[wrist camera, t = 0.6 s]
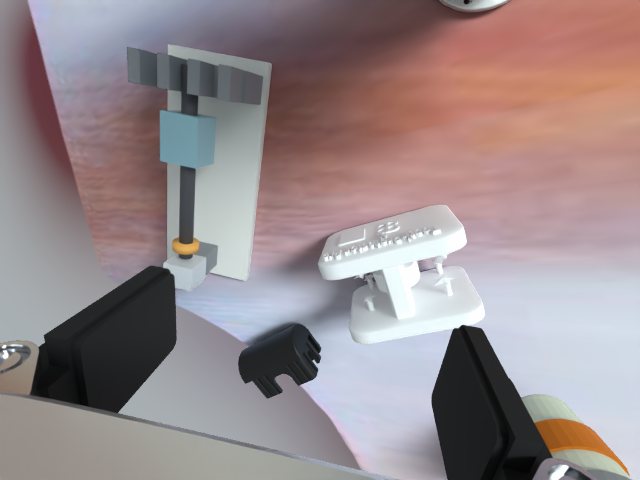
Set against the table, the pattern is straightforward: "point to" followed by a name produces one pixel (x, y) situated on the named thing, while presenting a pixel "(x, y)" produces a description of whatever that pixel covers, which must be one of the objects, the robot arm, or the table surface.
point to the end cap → (280, 359)
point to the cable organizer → (403, 275)
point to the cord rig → (229, 158)
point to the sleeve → (187, 139)
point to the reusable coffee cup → (573, 438)
